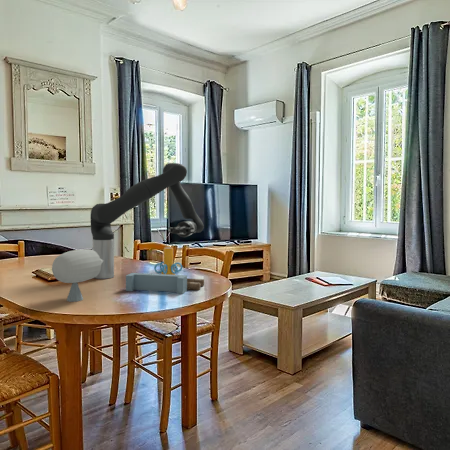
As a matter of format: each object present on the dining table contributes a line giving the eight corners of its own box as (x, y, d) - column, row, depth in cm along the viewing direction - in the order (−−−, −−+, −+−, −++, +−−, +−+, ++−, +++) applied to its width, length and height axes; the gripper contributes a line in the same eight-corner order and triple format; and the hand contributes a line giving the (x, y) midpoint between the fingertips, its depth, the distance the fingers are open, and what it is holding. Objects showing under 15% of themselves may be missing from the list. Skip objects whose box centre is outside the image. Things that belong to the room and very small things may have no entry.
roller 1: (183, 282, 167) (184, 276, 169) (184, 287, 169) (186, 281, 171) (202, 283, 166) (203, 277, 168) (203, 288, 168) (204, 282, 170)
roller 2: (179, 290, 160) (179, 282, 160) (181, 288, 163) (181, 281, 163) (198, 291, 159) (199, 283, 159) (200, 289, 162) (200, 282, 162)
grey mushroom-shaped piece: (115, 299, 143) (115, 250, 142) (55, 306, 132) (55, 253, 131) (103, 291, 156) (102, 246, 155) (47, 297, 145) (46, 248, 144)
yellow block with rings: (175, 286, 166) (175, 250, 165) (151, 285, 168) (151, 249, 167) (184, 280, 178) (184, 246, 177) (161, 279, 180) (162, 245, 179)
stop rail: (125, 290, 157) (125, 275, 156) (131, 287, 163) (131, 272, 162) (182, 294, 153) (183, 278, 153) (186, 290, 159) (187, 275, 159)
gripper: (172, 221, 200) (161, 223, 183) (198, 221, 198) (190, 223, 181) (172, 236, 201) (161, 239, 184) (198, 236, 199) (190, 240, 182)
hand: (176, 231), depth 183 cm, fingers closed
